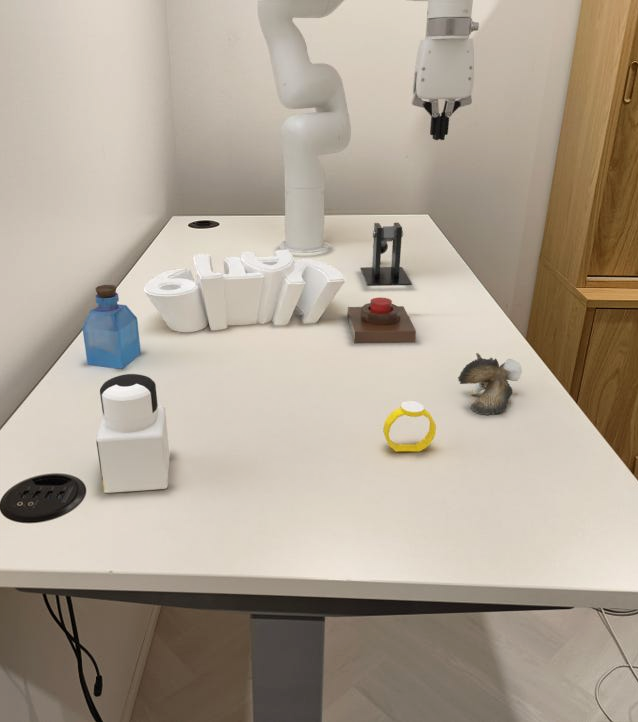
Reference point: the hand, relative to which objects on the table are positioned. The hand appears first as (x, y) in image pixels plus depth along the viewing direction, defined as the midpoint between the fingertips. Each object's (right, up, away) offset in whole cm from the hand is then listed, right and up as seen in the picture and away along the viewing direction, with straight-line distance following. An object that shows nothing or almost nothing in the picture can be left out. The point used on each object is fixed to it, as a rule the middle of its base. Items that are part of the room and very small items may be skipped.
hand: (438, 139), depth 127 cm
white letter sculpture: (-36, -34, -2) cm, 50 cm away
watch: (-16, -53, -45) cm, 71 cm away
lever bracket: (-7, -25, +16) cm, 30 cm away
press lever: (-7, -18, +17) cm, 25 cm away
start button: (-13, -33, -11) cm, 37 cm away
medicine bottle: (-48, -55, -48) cm, 87 cm away
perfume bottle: (-57, -41, -18) cm, 73 cm away
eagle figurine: (-2, -47, -33) cm, 58 cm away
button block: (-13, -36, -9) cm, 40 cm away
